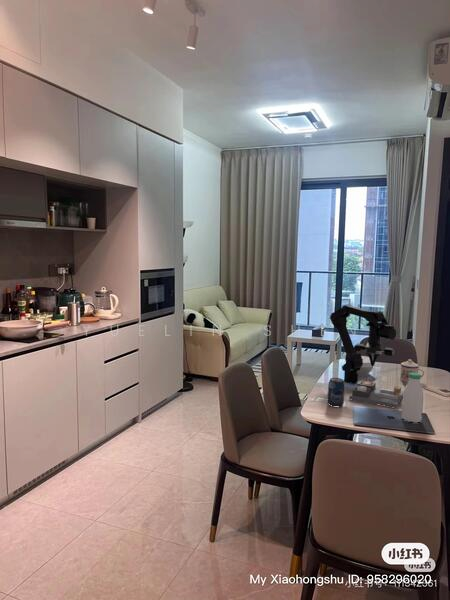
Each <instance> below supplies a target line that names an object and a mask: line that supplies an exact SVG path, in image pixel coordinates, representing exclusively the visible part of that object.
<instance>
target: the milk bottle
mask: <svg viewBox="0 0 450 600" xmlns="http://www.w3.org/2000/svg"><path fill="white" fill-rule="evenodd" d="M421 376H422V374H421V373H419V372H418V373H409V381H408V382H407V383H406V386H405V387H404V390H403V397H402V404H401V405H402V406H401V419H402V418H403V419H405V420H408V421H413V422H420V421H421V420H423V406H424V392H423V388H422V385H421V379H422V377H421ZM421 422H422V421H421ZM421 422H420V423H421Z"/></svg>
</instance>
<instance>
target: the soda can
mask: <svg viewBox="0 0 450 600" xmlns="http://www.w3.org/2000/svg"><path fill="white" fill-rule="evenodd" d="M343 380H344V378H340V377H339V378H338V377H330V379H329V381H328V386H327V387H328V388H327V389H328V390H327V403H328V405H329V404H330V405H332V406H341V407H342V406H343V405H344V396H345V395H344V393H345V382H343ZM330 405H329V406H330Z"/></svg>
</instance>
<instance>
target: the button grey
mask: <svg viewBox="0 0 450 600" xmlns="http://www.w3.org/2000/svg"><path fill="white" fill-rule="evenodd" d="M356 386H357V390H359V391H365V392H366V391H367V387H365V386H358V385H356Z"/></svg>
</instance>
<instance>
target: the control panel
mask: <svg viewBox="0 0 450 600" xmlns="http://www.w3.org/2000/svg"><path fill="white" fill-rule="evenodd" d="M362 382H370V383H371V385H365V384H362ZM357 386H365V387H367V391H366V392H365V391H359V390H357ZM376 386H377V383H376V382H374V381H368V380H362V379H361V380H360V381H358V382H357V385H355V386H354V387H353V388H352V390H351V393H350V394H349V395H348V396H349V397H348V399H352V400H351V401H354V400H356V401H355V402H359V401H361V402H360V403H364V402H367V403H366V404H370V403H372V404H371V405H375V404H380V405H385V406H384V407H386V406H389V407H388V408H391V407H394V408H393V409H397V408H398V407H399V404H400V403H401V400H402V399H403V393H404V391H401V395H400V397H399V398H398V396H396V395H394V389H388V388H383V387H378V386H377V387H376ZM380 405H379V406H380Z"/></svg>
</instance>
